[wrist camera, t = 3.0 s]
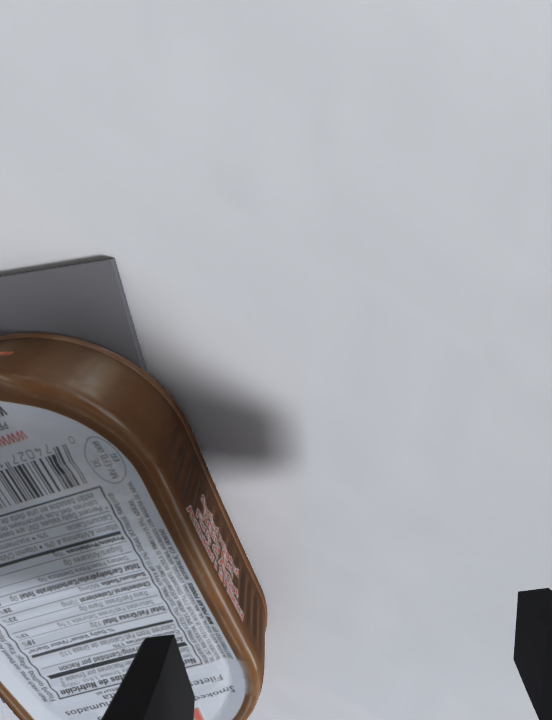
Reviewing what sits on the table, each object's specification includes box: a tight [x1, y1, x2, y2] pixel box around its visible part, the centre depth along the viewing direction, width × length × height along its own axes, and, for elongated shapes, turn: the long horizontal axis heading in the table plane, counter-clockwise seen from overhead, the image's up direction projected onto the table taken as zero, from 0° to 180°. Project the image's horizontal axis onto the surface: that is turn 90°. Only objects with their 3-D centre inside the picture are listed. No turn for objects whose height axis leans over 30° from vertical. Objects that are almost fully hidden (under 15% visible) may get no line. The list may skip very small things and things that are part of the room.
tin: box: [0, 333, 267, 720], centre depth 14 cm, size 15×3×8 cm
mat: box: [0, 258, 147, 703], centre depth 15 cm, size 16×9×1 cm, turn 9°
